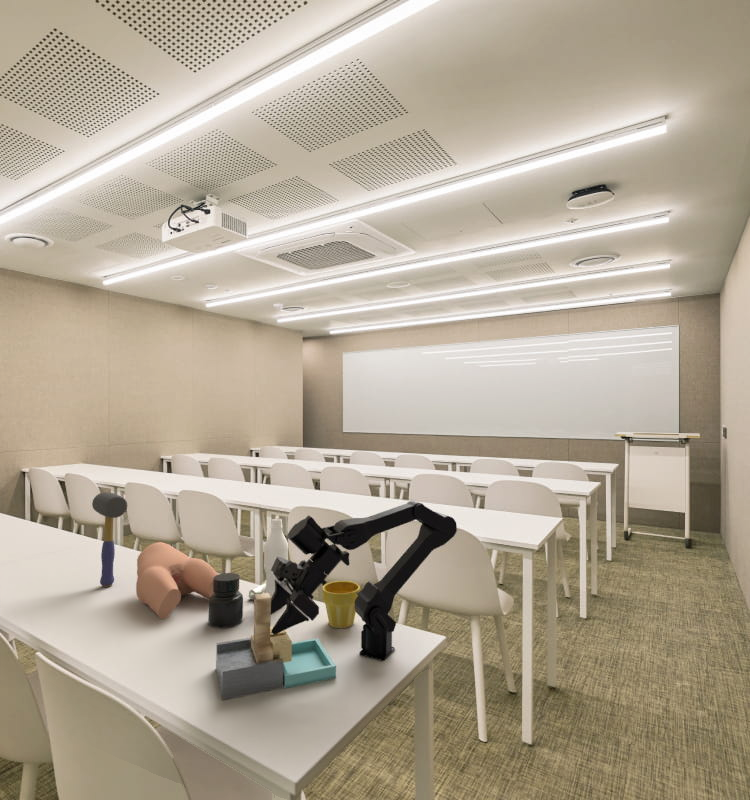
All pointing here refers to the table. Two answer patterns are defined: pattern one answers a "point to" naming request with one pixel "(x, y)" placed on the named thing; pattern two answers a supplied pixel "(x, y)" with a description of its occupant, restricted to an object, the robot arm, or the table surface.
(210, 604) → the ink bottle
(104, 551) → the rubber mallet
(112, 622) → the table surface
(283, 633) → the brass block
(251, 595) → the pipe fitting
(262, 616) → the light brown t-shaped block
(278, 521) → the water bottle
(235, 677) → the grey tray
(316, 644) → the teal tray
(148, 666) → the table surface
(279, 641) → the brass block
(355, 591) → the plant pot
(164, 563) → the medical training model
